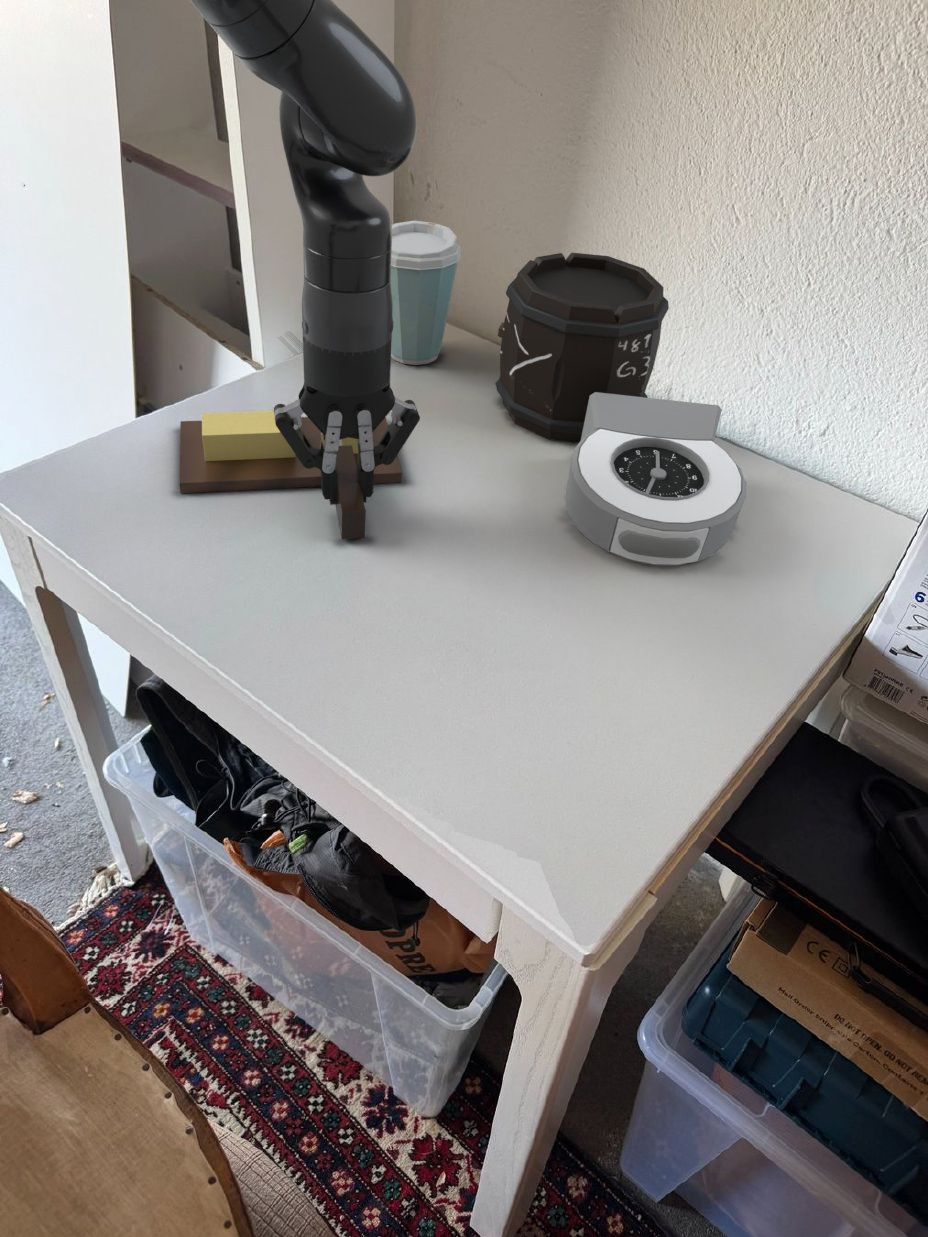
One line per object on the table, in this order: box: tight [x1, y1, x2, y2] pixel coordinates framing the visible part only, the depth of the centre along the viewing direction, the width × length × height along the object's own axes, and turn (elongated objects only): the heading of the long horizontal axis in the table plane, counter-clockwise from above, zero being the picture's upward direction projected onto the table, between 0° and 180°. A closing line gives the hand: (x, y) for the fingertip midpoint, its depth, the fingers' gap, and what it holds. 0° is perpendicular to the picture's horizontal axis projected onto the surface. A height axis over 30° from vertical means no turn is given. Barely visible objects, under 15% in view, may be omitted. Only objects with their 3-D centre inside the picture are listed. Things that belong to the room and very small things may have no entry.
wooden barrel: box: [495, 252, 670, 444], centre depth 105 cm, size 18×18×16 cm
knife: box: [334, 440, 367, 540], centre depth 93 cm, size 22×2×3 cm, turn 12°
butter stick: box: [201, 410, 295, 461], centre depth 95 cm, size 9×4×3 cm, turn 102°
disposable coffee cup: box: [390, 220, 462, 366], centre depth 113 cm, size 11×11×15 cm
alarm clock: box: [564, 392, 747, 567], centre depth 93 cm, size 17×9×19 cm
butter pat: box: [341, 437, 358, 454], centre depth 97 cm, size 2×4×3 cm, turn 13°
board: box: [178, 416, 403, 494], centre depth 97 cm, size 22×12×1 cm, turn 102°
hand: (346, 498), depth 90 cm, fingers closed on knife, 2 cm apart
